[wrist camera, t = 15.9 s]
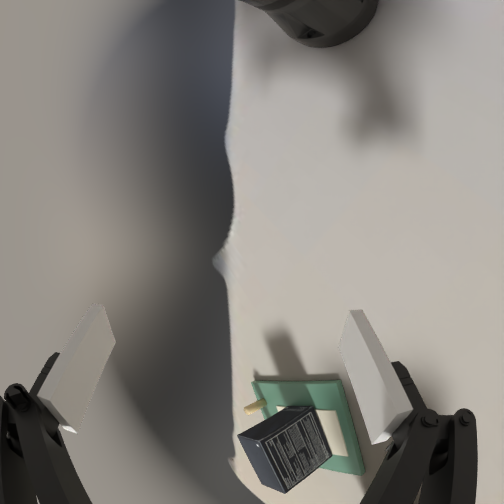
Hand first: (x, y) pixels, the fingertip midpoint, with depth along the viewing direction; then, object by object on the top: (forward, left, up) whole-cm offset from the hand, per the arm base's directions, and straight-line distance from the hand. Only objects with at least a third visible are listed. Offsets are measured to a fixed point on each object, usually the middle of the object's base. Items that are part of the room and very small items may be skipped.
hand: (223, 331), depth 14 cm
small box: (+21, -19, -19) cm, 34 cm away
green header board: (+21, -21, -20) cm, 36 cm away
